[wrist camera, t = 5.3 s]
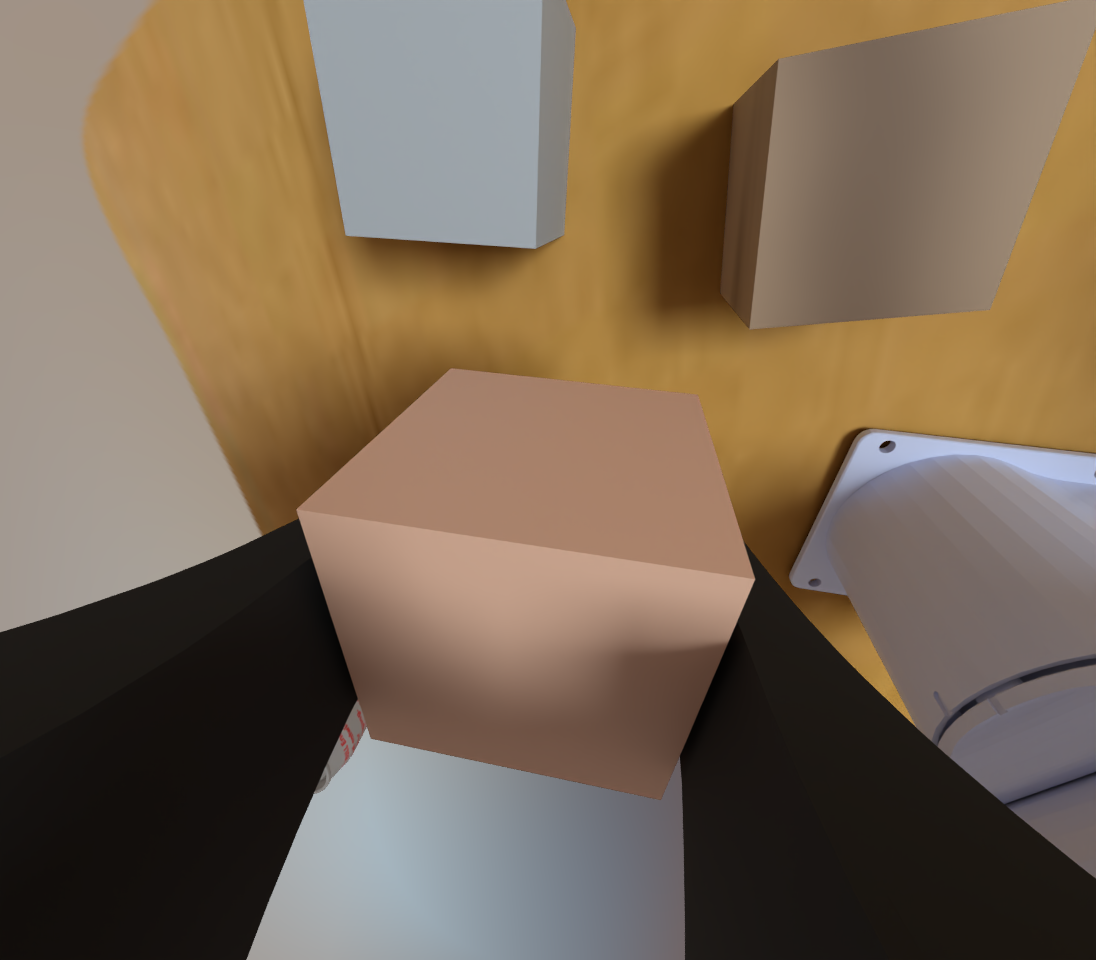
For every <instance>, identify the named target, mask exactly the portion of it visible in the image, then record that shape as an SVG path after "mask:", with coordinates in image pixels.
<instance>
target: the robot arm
mask: <svg viewBox="0 0 1096 960" xmlns="http://www.w3.org/2000/svg"><path fill="white" fill-rule="evenodd" d="M885 441H890V444H889V445H888V446H886V447H884V448H879V446H880V445H881V444H882V443H883V442H885ZM1095 471H1096V454H1092V453H1083V452H1074V451H1065V450H1057V449H1048V448H1039V447H1030V446H1021V445H1012V444H1004V443H995V442H986V441H977V440H968V439H960V438H951V437H942V436H933V435H924V434H915V433H907V432H898V431H889V430H880V429H868V430H865V431H862V432H861V433H860V434H858V435H857V436H856V438H855V439H854V441H853V443H852V445H851V447H850V449H849V452H848V454H847V456H846V458H845V460H844V462H843V464H842V466H841V468H840V470H839V472H838V474H837V476H836V478H835V481H834V483H833V485H832V487H831V489H830V491H829V493H828V495H827V497H826V499H825V501H824V503H823V505H822V507H821V509H820V512H819V514H818V516H817V518H816V520H815V522H814V524H813V526H812V528H811V530H810V532H809V534H808V536H807V538H806V541H805V543H804V545H803V547H802V549H801V551H800V553H799V555H798V557H797V559H796V561H795V563H794V565H793V567H792V570H791V572H790V574H789V578H790V581H791V583H792V585H793V586H795V587H798V588H803V589H809V590H816V591H822V592H828V593H835V594H841V595H848V597H849V599H850V601H851V603H852V605H853V607H854V609H855V610H856V612H857V614H858V616H859V618H860V620H861V622H862V624H863V626H864V628H865V630H866V632H867V633H868V635H869V637H870V639H871V641H872V643H873V645H874V647H875V649H876V651H877V653H878V655H879V656H880V658H881V660H882V662H883V664H884V666H885V668H886V670H887V672H888V674H889V676H890V677H891V679H892V681H893V683H894V685H895V687H896V689H897V691H898V693H899V695H900V697H901V699H902V700H903V702H904V704H905V706H906V708H907V710H908V712H909V714H910V716H911V718H912V720H913V722H914V723H915V725H916V727H917V728H916V727H915V726H914V725H913V724H912V723H911V722H910V721H909V720H908V719H907V718H905V717H904V716H903V715H902V714H901V713H900V712H899V711H898V710H897V709H896V708H895V707H894V706H893V705H892V704H891V703H890V702H889V701H888V700H887V699H886V698H885V697H883V696H882V695H881V694H880V693H879V692H878V691H877V690H876V689H875V688H874V687H873V686H872V685H871V684H870V683H869V682H868V681H867V680H866V679H865V678H864V677H863V676H862V675H861V674H860V673H859V672H858V671H857V670H856V669H855V668H854V667H853V666H852V665H851V664H850V663H849V662H848V661H847V660H846V659H845V658H844V657H843V656H842V655H841V654H840V653H839V652H838V651H837V650H836V649H835V648H834V647H833V646H832V644H831V643H830V642H829V641H828V640H827V639H826V638H825V637H824V636H823V635H822V634H821V633H820V631H819V630H818V629H817V628H816V627H815V626H814V625H813V624H812V623H811V622H810V621H809V620H808V618H807V617H806V616H805V615H804V614H803V613H802V612H801V611H800V609H799V608H798V607H797V606H796V605H795V604H794V603H793V601H792V600H791V599H790V598H789V597H788V596H787V594H786V593H785V592H784V591H783V590H782V588H781V587H780V586H779V585H778V584H777V582H776V581H775V580H774V579H773V578H772V576H771V575H770V574H769V573H768V571H767V570H766V569H765V568H764V566H763V565H762V564H761V563H760V561H759V560H758V559H757V558H756V556H755V555H754V554H753V553H752V551H751V550H750V549H749V547H748V546H747V545H746V544H745V542H744V541H743V542H744V545H745V548H746V551H747V555H748V558H749V561H750V564H751V568H752V571H753V574H754V577H755V581H754V583H753V585H752V588H751V590H750V592H749V595H748V597H747V600H746V602H745V604H744V607H743V609H742V611H741V614H740V616H739V618H738V621H737V623H736V625H735V628H734V630H733V632H732V635H731V637H730V639H729V642H728V644H727V646H726V649H725V651H724V653H723V656H722V658H721V660H720V663H719V665H718V668H717V670H716V672H715V675H714V677H713V679H712V682H711V684H710V686H709V689H708V691H707V693H706V696H705V698H704V700H703V703H702V705H701V707H700V710H699V712H698V714H697V717H696V719H695V721H694V724H693V726H692V728H691V731H690V733H689V735H688V738H687V740H686V743H685V745H684V747H683V750H682V752H681V754H680V764H681V777H682V800H683V833H684V834H683V835H684V836H683V837H684V887H685V888H684V889H685V890H684V891H685V960H1096V472H1095ZM816 578H817V579H816ZM811 579H816V580H813V581H810V580H811ZM357 700H358V697H357V694H356V691H355V688H354V685H353V682H352V679H351V676H350V673H349V670H348V667H347V664H346V661H345V657H344V654H343V651H342V648H341V645H340V642H339V639H338V636H337V633H336V630H335V627H334V624H333V621H332V618H331V615H330V611H329V608H328V605H327V602H326V599H325V596H324V593H323V590H322V587H321V584H320V581H319V578H318V575H317V572H316V569H315V566H314V562H313V559H312V556H311V553H310V550H309V547H308V544H307V541H306V538H305V535H304V532H303V529H302V526H301V523H300V520H299V519H297V520H295V521H293V522H291V523H289V524H287V525H285V526H282V527H280V528H278V529H276V530H274V531H272V532H270V533H268V534H266V535H264V536H262V537H259V538H257V539H255V540H253V541H251V542H249V543H247V544H245V545H243V546H241V547H238V548H236V549H234V550H231V551H229V552H227V553H224V554H222V555H220V556H218V557H215V558H213V559H210V560H208V561H206V562H203V563H200V564H198V565H196V566H193V567H191V568H188V569H185V570H183V571H180V572H178V573H176V574H173V575H170V576H168V577H165V578H163V579H160V580H157V581H155V582H152V583H149V584H147V585H144V586H141V587H138V588H135V589H132V590H129V591H126V592H123V593H120V594H117V595H114V596H111V597H109V598H106V599H103V600H100V601H97V602H94V603H91V604H88V605H85V606H83V607H79V608H76V609H73V610H71V611H68V612H65V613H62V614H59V615H56V616H52V617H49V618H46V619H43V620H40V621H36V622H33V623H30V624H26V625H24V626H20V627H17V628H13V629H10V630H7V631H3V632H0V960H246V959H247V957H248V954H249V951H250V949H251V946H252V943H253V941H254V938H255V936H256V933H257V930H258V927H259V925H260V922H261V920H262V917H263V915H264V912H265V909H266V907H267V904H268V902H269V899H270V897H271V894H272V892H273V890H274V887H275V885H276V882H277V880H278V877H279V875H280V872H281V870H282V868H283V865H284V863H285V860H286V858H287V855H288V853H289V850H290V848H291V846H292V843H293V840H294V838H295V836H296V833H297V831H298V829H299V826H300V824H301V822H302V819H303V817H304V815H305V813H306V810H307V808H308V806H309V803H310V801H311V799H312V797H313V794H314V792H315V790H316V787H317V785H318V783H319V781H320V778H321V776H322V774H323V771H324V769H325V767H326V765H327V763H328V760H329V758H330V756H331V754H332V752H333V750H334V747H335V745H336V743H337V741H338V739H339V737H340V735H341V732H342V730H343V728H344V726H345V724H346V722H347V719H348V717H349V715H350V713H351V711H352V709H353V707H354V705H355V704H356V702H357Z"/></svg>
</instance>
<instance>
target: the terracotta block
mask: <svg viewBox="0 0 1096 960" xmlns="http://www.w3.org/2000/svg"><path fill="white" fill-rule="evenodd" d="M296 510H297V513H298V516H299V520H300V523H301V526H302V529H303V532H304V535H305V538H306V541H307V544H308V547H309V550H310V553H311V556H312V559H313V562H314V566H315V569H316V572H317V575H318V578H319V581H320V584H321V587H322V590H323V593H324V596H325V599H326V602H327V605H328V608H329V611H330V615H331V618H332V621H333V624H334V627H335V630H336V633H337V636H338V639H339V642H340V645H341V648H342V651H343V654H344V657H345V661H346V664H347V667H348V670H349V673H350V676H351V679H352V682H353V685H354V688H355V691H356V694H357V697H358V700H359V703H360V707H361V710H362V713H363V716H364V719H365V722H366V725H367V728H368V731H369V734H370V737H371V739H375V740H380V741H385V742H389V743H394V744H399V745H404V746H408V747H413V748H418V749H423V750H427V751H432V752H437V753H441V754H446V755H451V756H455V757H460V758H465V759H470V760H474V761H479V762H484V763H488V764H493V765H498V766H502V767H507V768H512V769H517V770H521V771H526V772H531V773H536V774H540V775H545V776H550V777H555V778H559V779H564V780H568V781H573V782H578V783H582V784H587V785H592V786H597V787H601V788H606V789H611V790H615V791H620V792H625V793H630V794H634V795H639V796H644V797H648V798H653V799H658V800H661V799H662V796H663V794H664V792H665V789H666V787H667V785H668V782H669V780H670V778H671V775H672V773H673V771H674V768H675V766H676V764H677V761H678V759H679V757H680V754H681V752H682V750H683V747H684V745H685V743H686V740H687V738H688V735H689V733H690V731H691V728H692V726H693V724H694V721H695V719H696V717H697V714H698V712H699V710H700V707H701V705H702V703H703V700H704V698H705V696H706V693H707V691H708V689H709V686H710V684H711V682H712V679H713V677H714V675H715V672H716V670H717V668H718V665H719V663H720V660H721V658H722V656H723V653H724V651H725V649H726V646H727V644H728V642H729V639H730V637H731V635H732V632H733V630H734V628H735V625H736V623H737V621H738V618H739V616H740V614H741V611H742V609H743V607H744V604H745V602H746V600H747V597H748V595H749V592H750V590H751V588H752V585H753V583H754V581H755V577H754V574H753V571H752V568H751V564H750V561H749V558H748V555H747V551H746V548H745V545H744V542H743V539H742V535H741V532H740V529H739V526H738V523H737V519H736V516H735V513H734V510H733V506H732V503H731V500H730V497H729V494H728V490H727V487H726V484H725V481H724V478H723V474H722V471H721V468H720V465H719V461H718V458H717V455H716V452H715V449H714V445H713V442H712V439H711V436H710V433H709V429H708V426H707V423H706V420H705V416H704V413H703V410H702V407H701V404H700V400H699V397H698V395H694V394H685V393H676V392H667V391H657V390H648V389H639V388H629V387H620V386H611V385H602V384H592V383H583V382H574V381H564V380H555V379H546V378H536V377H527V376H518V375H509V374H499V373H490V372H481V371H471V370H462V369H453V368H451V369H450V370H449V371H448V372H446V373H445V374H444V375H443V376H442V377H441V378H440V379H439V380H438V381H437V382H436V383H434V384H433V385H432V386H431V387H430V388H429V389H428V390H427V391H426V392H425V393H423V394H422V395H421V396H420V397H419V398H418V399H417V400H416V401H415V402H414V403H412V404H411V405H410V406H409V407H408V408H407V409H406V410H405V411H404V412H403V413H401V414H400V415H399V416H398V417H397V418H396V419H395V420H394V421H393V422H392V423H391V424H389V425H388V426H387V427H386V428H385V429H384V430H383V431H382V432H381V433H380V434H378V435H377V436H376V437H375V438H374V439H373V440H372V441H371V442H370V443H369V444H367V445H366V446H365V447H364V448H363V449H362V450H361V451H360V452H359V453H358V454H357V455H355V456H354V457H353V458H352V459H351V460H350V461H349V462H348V463H347V464H346V465H344V466H343V467H342V468H341V469H340V470H339V471H338V472H337V473H336V474H335V475H333V476H332V477H331V478H330V479H329V480H328V481H327V482H326V483H325V484H324V485H323V486H321V487H320V488H319V489H318V490H317V491H316V492H315V493H314V494H313V495H312V496H310V497H309V498H308V499H307V500H306V501H305V502H304V503H303V504H302V505H301V506H299V507H298V508H297V509H296Z"/></svg>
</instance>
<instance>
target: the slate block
mask: <svg viewBox="0 0 1096 960" xmlns="http://www.w3.org/2000/svg"><path fill="white" fill-rule="evenodd" d="M304 5H305V11H306V16H307V22H308V28H309V33H310V39H311V44H312V50H313V55H314V61H315V67H316V72H317V78H318V83H319V89H320V94H321V100H322V105H323V111H324V117H325V122H326V128H327V133H328V139H329V144H330V150H331V156H332V161H333V167H334V172H335V178H336V183H337V189H338V195H339V200H340V206H341V211H342V217H343V222H344V228H345V233H346V236H359V237H373V238H388V239H403V240H417V241H432V242H446V243H461V244H475V245H490V246H504V247H519V248H533V249H536V248H538V247H540V246H542V245H544V244H546V243H548V242H550V241H553V240H555V239H557V238H559V237H561V236H563V235H564V227H565V210H566V192H567V174H568V157H569V139H570V121H571V104H572V86H573V68H574V51H575V33H576V27H575V25H574V22H573V19H572V16H571V14H570V11H569V8H568V6H567V3H566V0H304Z"/></svg>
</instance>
